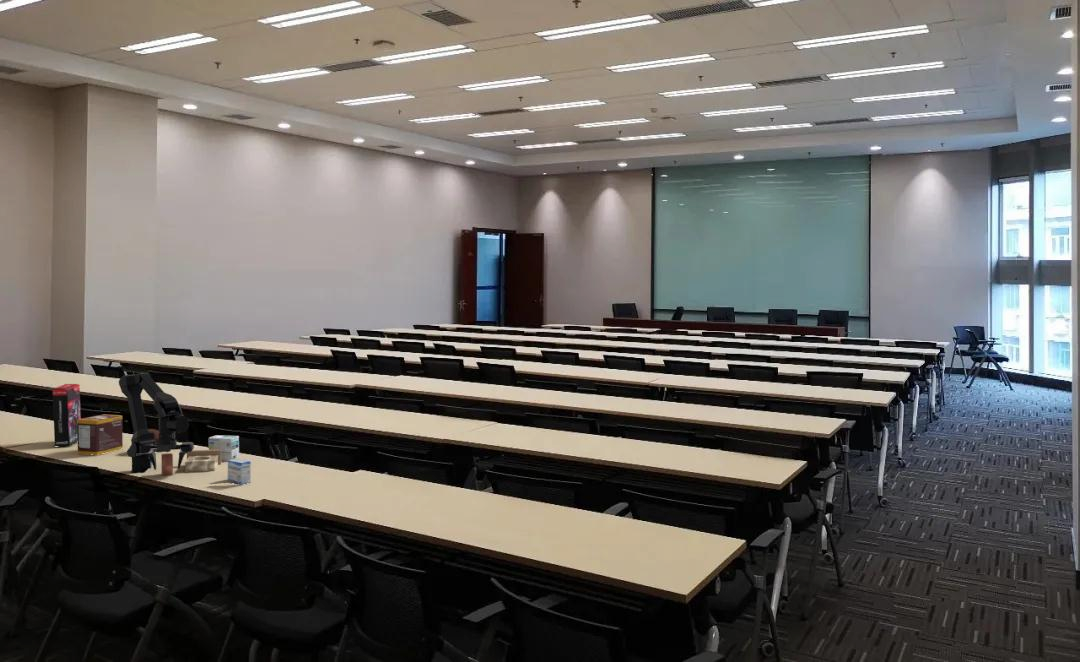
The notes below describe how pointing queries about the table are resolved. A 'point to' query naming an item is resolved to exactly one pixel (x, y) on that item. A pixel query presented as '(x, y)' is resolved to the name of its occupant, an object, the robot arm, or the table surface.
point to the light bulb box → (225, 446)
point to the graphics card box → (66, 414)
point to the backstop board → (205, 453)
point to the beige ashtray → (201, 463)
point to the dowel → (167, 463)
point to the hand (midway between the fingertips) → (167, 469)
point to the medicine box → (239, 471)
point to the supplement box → (99, 434)
